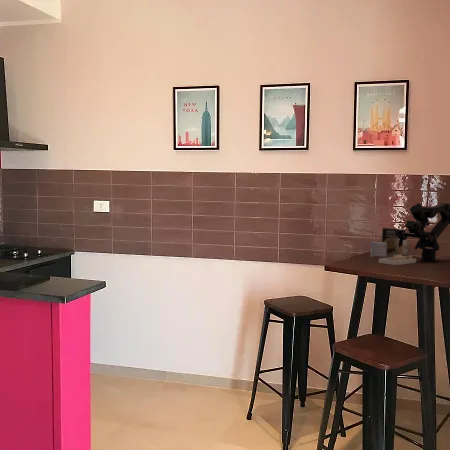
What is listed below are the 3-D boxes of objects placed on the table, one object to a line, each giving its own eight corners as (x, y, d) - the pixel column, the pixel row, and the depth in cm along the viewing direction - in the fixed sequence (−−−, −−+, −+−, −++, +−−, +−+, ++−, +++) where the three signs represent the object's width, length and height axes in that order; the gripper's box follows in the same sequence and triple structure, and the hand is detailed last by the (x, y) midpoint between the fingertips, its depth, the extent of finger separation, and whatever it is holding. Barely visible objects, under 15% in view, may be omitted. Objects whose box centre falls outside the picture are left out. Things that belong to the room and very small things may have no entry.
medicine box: (384, 257, 293) (385, 242, 292) (386, 259, 289) (387, 243, 288) (370, 257, 294) (370, 241, 293) (371, 258, 289) (372, 242, 289)
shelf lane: (398, 262, 277) (399, 256, 277) (416, 265, 269) (416, 258, 269) (378, 264, 265) (378, 258, 265) (395, 267, 257) (396, 261, 257)
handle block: (400, 260, 275) (401, 239, 274) (411, 262, 270) (413, 240, 269) (393, 261, 270) (394, 240, 269) (404, 263, 265) (405, 241, 264)
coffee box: (380, 256, 298) (382, 228, 296) (380, 255, 304) (381, 227, 303) (397, 257, 296) (399, 229, 294) (396, 256, 302) (398, 228, 301)
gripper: (398, 214, 281) (385, 235, 275) (431, 216, 266) (418, 239, 260) (405, 228, 286) (393, 249, 280) (438, 231, 272) (425, 254, 266)
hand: (407, 247), depth 272 cm, fingers open, 9 cm apart
